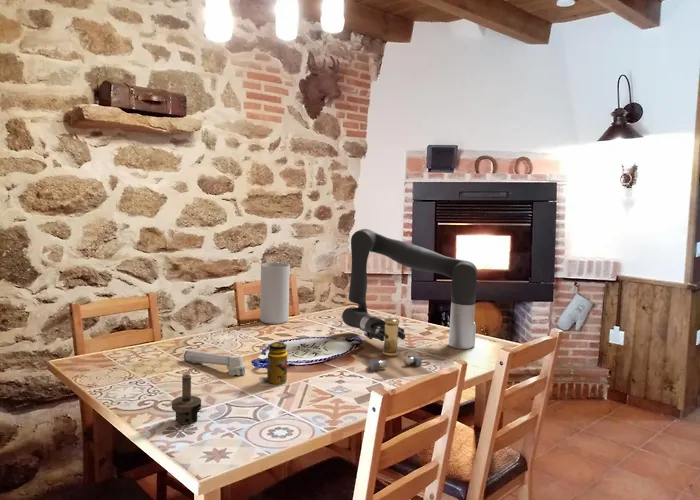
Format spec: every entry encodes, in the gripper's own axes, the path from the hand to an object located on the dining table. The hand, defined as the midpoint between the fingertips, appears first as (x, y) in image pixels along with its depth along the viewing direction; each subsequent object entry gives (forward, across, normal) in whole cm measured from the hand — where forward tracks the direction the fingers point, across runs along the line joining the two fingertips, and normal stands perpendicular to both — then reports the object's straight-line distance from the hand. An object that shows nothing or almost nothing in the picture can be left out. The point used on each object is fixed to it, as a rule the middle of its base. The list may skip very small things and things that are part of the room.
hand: (393, 337), depth 201 cm
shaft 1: (+11, -11, +7) cm, 17 cm away
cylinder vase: (-63, -25, +8) cm, 68 cm away
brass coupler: (-2, 0, +7) cm, 7 cm away
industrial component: (+30, -76, +8) cm, 82 cm away
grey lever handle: (-9, -62, +8) cm, 63 cm away
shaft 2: (+11, +1, +7) cm, 13 cm away
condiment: (+9, -47, +8) cm, 49 cm away
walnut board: (+7, -5, +8) cm, 11 cm away
